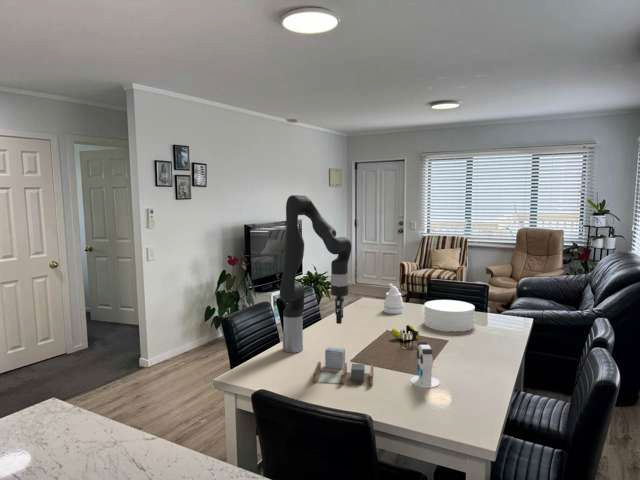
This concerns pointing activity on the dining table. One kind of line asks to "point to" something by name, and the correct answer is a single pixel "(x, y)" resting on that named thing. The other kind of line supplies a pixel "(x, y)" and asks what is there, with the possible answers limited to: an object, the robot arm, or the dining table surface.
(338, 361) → the medicine box
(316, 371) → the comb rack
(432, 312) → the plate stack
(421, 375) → the panda figurine
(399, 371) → the dining table surface
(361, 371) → the cord plug
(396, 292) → the honey pot
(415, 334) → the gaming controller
